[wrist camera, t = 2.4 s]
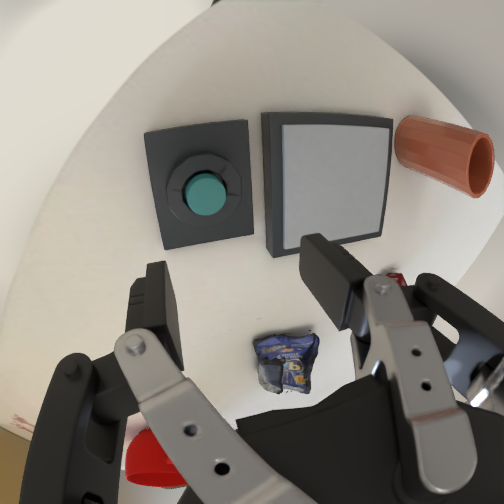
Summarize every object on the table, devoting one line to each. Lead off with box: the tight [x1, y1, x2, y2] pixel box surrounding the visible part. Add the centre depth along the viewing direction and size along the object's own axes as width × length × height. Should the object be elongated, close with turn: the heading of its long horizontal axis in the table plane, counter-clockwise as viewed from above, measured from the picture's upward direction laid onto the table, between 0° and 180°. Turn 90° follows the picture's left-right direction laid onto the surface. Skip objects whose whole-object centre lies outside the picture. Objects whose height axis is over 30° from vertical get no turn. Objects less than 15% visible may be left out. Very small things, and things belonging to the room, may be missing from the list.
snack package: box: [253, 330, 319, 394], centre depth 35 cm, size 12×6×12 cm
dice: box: [387, 273, 407, 286], centre depth 34 cm, size 4×4×4 cm
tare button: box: [186, 173, 226, 215], centre depth 19 cm, size 3×3×2 cm
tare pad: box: [144, 119, 254, 250], centre depth 21 cm, size 10×8×3 cm
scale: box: [261, 112, 393, 258], centre depth 24 cm, size 13×13×2 cm
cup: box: [395, 116, 494, 198], centre depth 22 cm, size 6×6×10 cm
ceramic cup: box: [125, 429, 188, 487], centre depth 36 cm, size 13×17×10 cm
